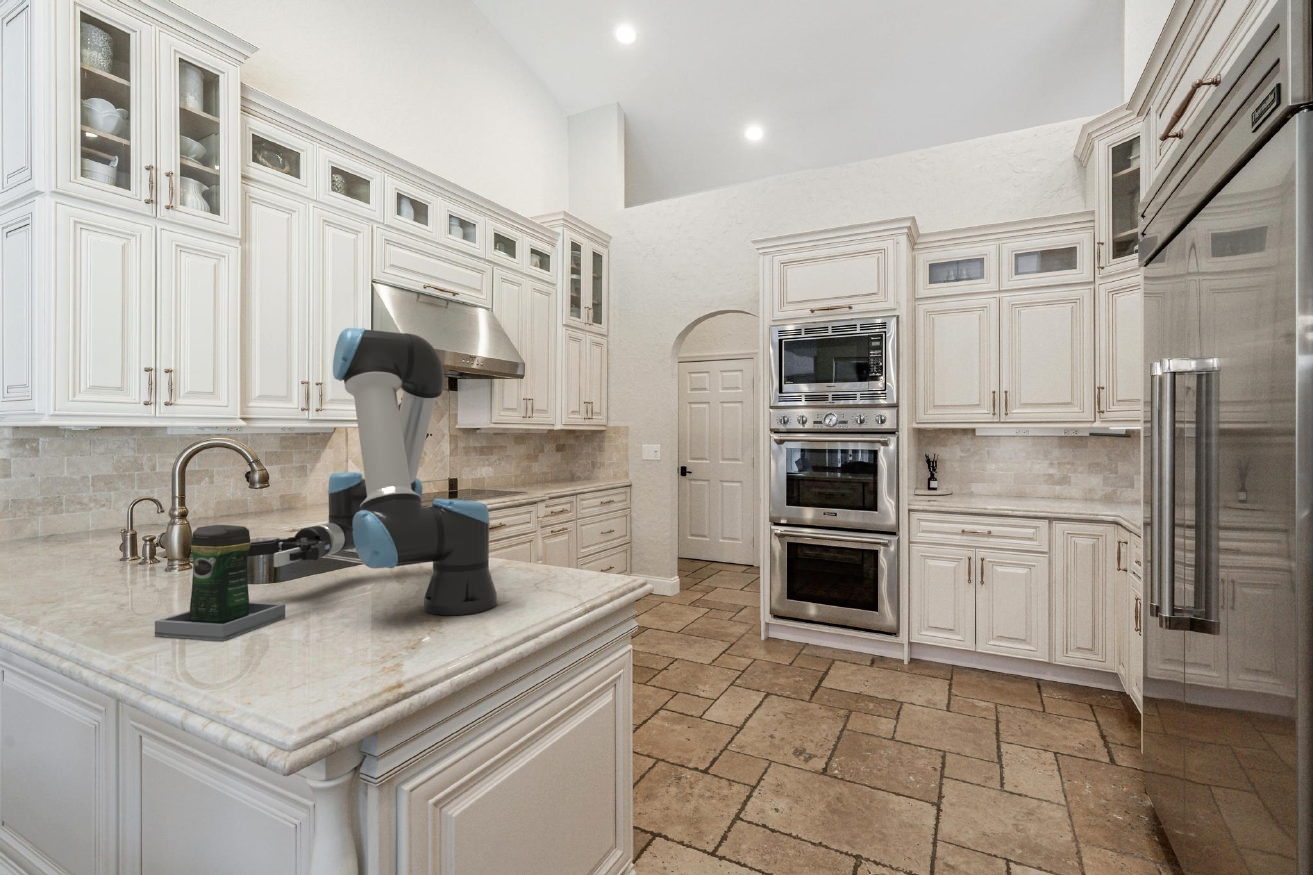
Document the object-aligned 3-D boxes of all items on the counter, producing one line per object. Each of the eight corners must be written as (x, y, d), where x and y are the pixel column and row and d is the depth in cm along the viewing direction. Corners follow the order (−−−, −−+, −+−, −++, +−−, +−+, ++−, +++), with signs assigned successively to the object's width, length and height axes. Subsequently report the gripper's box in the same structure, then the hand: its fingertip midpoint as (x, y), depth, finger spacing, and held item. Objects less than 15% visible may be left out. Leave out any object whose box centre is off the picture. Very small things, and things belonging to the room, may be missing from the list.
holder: (285, 617, 126) (285, 604, 126) (223, 641, 111) (223, 625, 111) (223, 614, 128) (223, 600, 128) (154, 636, 114) (154, 621, 114)
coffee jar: (257, 616, 124) (259, 523, 124) (220, 627, 116) (222, 528, 116) (219, 613, 126) (221, 521, 127) (180, 623, 119) (182, 526, 119)
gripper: (366, 559, 144) (300, 580, 123) (271, 555, 148) (191, 575, 127) (366, 526, 144) (301, 542, 123) (271, 524, 148) (191, 538, 127)
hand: (245, 559), depth 125 cm, fingers open, 13 cm apart
